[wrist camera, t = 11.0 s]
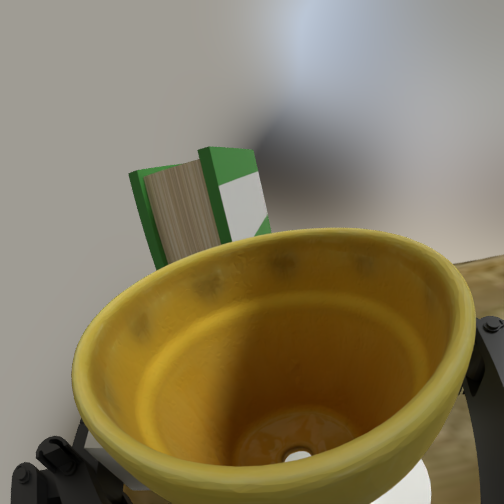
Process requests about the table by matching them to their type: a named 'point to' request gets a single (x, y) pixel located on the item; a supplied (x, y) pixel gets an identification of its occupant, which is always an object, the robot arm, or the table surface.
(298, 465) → the plant pot
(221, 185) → the hardback book
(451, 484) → the table surface
